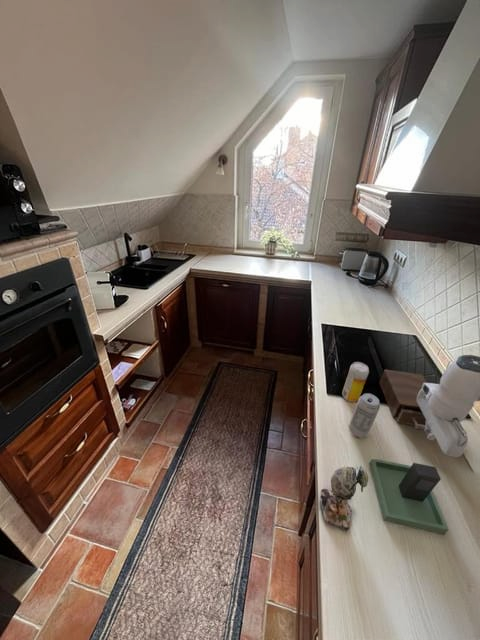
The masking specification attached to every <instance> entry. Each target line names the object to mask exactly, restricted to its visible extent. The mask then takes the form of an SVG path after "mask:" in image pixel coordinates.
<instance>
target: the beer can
mask: <svg viewBox="0 0 480 640" xmlns="http://www.w3.org/2000/svg"><path fill="white" fill-rule="evenodd" d="M369 373H370V370H369V366H368V364H365V363H364V362H361V361H354V362H353V363H352V364H351V365H350V367H349V370H348V372H347V376H346V379H345V383H344V386H343V388H342V391H341V395H342V397H343V398H344V400H346V401H347V402H349V403H355V402H358V400H359V398H360V397H361V396H362V395H361V394H362V392H363V389H364V386H365V384H366V382H367V378H368V376H369Z"/></svg>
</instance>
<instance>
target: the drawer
mask: <svg viewBox="0 0 480 640" xmlns="http://www.w3.org/2000/svg"><path fill="white" fill-rule="evenodd" d="M397 415H398V418H396V421H397V423H399V424H400V423H401V424H405V425H413V427H414V429H415V430H420V431H424V430H425V426H426V419H425V417H424V415H423V413H422V411H421V409H419V408H412V407H406V406H401V407H400V409H399V411H398V413H397Z"/></svg>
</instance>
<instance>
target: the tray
mask: <svg viewBox="0 0 480 640" xmlns="http://www.w3.org/2000/svg"><path fill="white" fill-rule="evenodd" d="M411 466H412V465H408V464H405V463H404V464H402V463H398V462H393V461H388V460H383V459H378V458H370V461H369V468H370V471H371V476H372V480H373V483H374V488H375V492H376V497H377V501H378V504H379V509H380V513H381V518H382V520H383V521H382V522H387V523H391V524H396V525H400V526H404V527H409V528H414V529H417V530H423V531H425V532H426V531H427V532H431V533H435V532H436V533H435V534H439V533H440V534H439V535H446V533H447V532H448V531H449V528H448V525H447V522H446V521H445V517H444V516H443V513H442V510H441V508H440V505H439V504H438V501H437V499H436V496H435V494H434V492H433V490H432V491H431V492H430V494H429V495H428V496H427V497H426V499H425V500H424V501H423V502H422V501H417V500H412V499H407V498H403V497H402V495H401V492H400V488H399V484H400V483H401V481H402V480H403V478H404V477H405V475H406V474H407V472H408V471H409V469H410V468H411Z"/></svg>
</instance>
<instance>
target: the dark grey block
mask: <svg viewBox="0 0 480 640" xmlns="http://www.w3.org/2000/svg"><path fill="white" fill-rule="evenodd" d="M410 466H411V468H410V469H409V471H408V472H407V474H406V475H405V477H404V478H403V480H402V481H401V483H400V484H399V488H400V492H401V495H402V497H403V498H407V499H412V500H417V501H422V502H423V501H424V500H425V499H426V497H427V496H428V495H429V494H430V492H431V491H433V490H434V489H435V487H436V486H437V485H438V484H439V482H440V481H441V480H442V478H441V476H440V474H439V472H438V469H437V468H436V466H432V465H428V464H423V463H418V462H413V463H412V464H411V465H410Z"/></svg>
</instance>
